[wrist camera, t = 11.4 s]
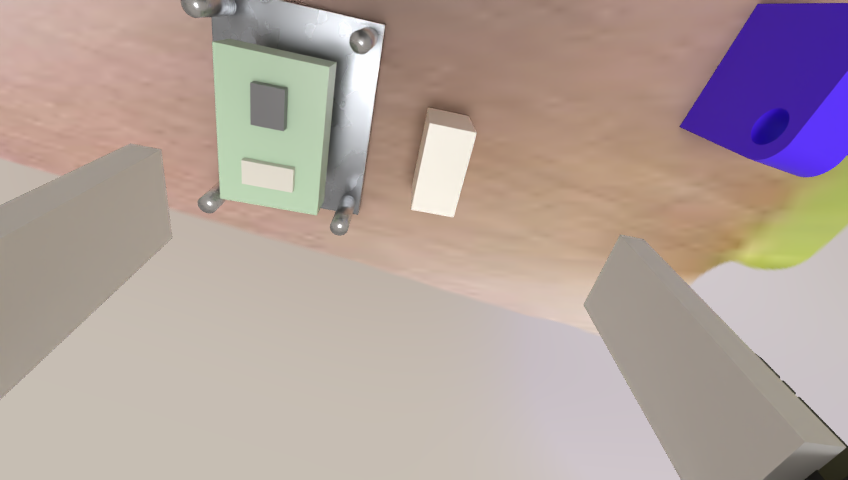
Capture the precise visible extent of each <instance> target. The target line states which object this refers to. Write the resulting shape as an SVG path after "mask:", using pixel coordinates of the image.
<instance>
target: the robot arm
mask: <svg viewBox="0 0 848 480" xmlns="http://www.w3.org/2000/svg"><path fill="white" fill-rule="evenodd" d="M171 239H172V232H171V224H170V216H169V208H168V200H167V192H166V184H165V175H164V167H163V159H162V151H161V149H157V148H152V147H146V146H141V145H136V144H128V145H126V146H124V147H122V148H120V149H118V150H116V151H114V152H111V153H109V154H107V155H105V156H103V157H101V158H99V159H97V160H95V161H92V162H90V163H88V164H86V165H84V166H82V167H80V168H78V169H76V170H73V171H71V172H69V173H67V174H65V175H63V176H61V177H59V178H57V179H55V180H52V181H51V182H49V183H46V184H44V185H42V186H40V187H38V188H36V189H33V190H31V191H29V192H27V193H25V194H23V195H21V196H19V197H17V198H15V199H13V200H10V201H8V202H6V203H4V204H2V205H0V400H1V399H2V398H3V397H4V396H5V395H6V394H7V393H8V392H9V391H10V390H11V389H12V388H13V387H14V386H15V385H17V384H18V383H19V382H20V381H21V380H22V379H23V378H24V377H25V376H26V375H27V374H28V373H29V372H30V371H31V370H33V369H34V368H35V367H36V366H37V365H38V364H39V363H40V362H41V361H42V360H43V359H44V358H45V357H46V356H47V355H48V354H49V353H51V352H52V351H53V350H54V349H55V348H56V347H57V346H58V345H59V344H60V343H61V342H62V341H63V340H64V339H65V338H67V337H68V336H69V335H70V334H71V333H72V332H73V331H74V330H75V329H76V328H77V327H78V326H79V325H80V324H81V323H82V322H84V321H85V320H86V319H87V318H88V317H89V316H90V315H91V314H92V313H93V312H94V311H95V310H96V309H97V308H98V307H99V306H100V305H102V304H103V303H104V302H105V301H106V300H107V299H108V298H109V297H110V296H111V295H112V294H113V293H114V292H115V291H117V290H118V288H119V287H121V286H122V285H123V284H124V283H125V282H126V281H127V280H128V279H129V278H130V277H131V276H132V275H133V274H134V273H136V272H137V271H138V270H139V269H140V268H141V267H142V266H143V265H144V264H145V263H146V262H147V261H148V260H149V259H151V257H153V256H154V255H155V254H156V253H157V252H158V251H159V250H160V249H161V248H162V247H163V246H164V245H165V244H166V243H168V241H170V240H171ZM584 307H585V308H586V310H587V312H588V314H589V316H590V317H591V319H592V321H593V323H594V325H595V326H596V328H597V330H598V332H599V334H600V335H601V337H602V339H603V341H604V342H605V344H606V346H607V348H608V350H609V351H610V353H611V355H612V357H613V359H614V360H615V362H616V364H617V366H618V367H619V369H620V371H621V373H622V375H623V376H624V378H625V380H626V382H627V384H628V385H629V387H630V389H631V391H632V393H633V394H634V396H635V398H636V400H637V402H638V403H639V405H640V407H641V409H642V411H643V412H644V414H645V416H646V418H647V420H648V421H649V423H650V425H651V427H652V429H653V430H654V432H655V434H656V436H657V438H658V439H659V441H660V443H661V445H662V447H663V448H664V450H665V452H666V454H667V455H668V457H669V459H670V461H671V463H672V464H673V466H674V468H675V470H676V472H677V473H678V475H679V477H680V479H681V480H848V446H847V445H846V444H845V443H844V442H843V441H842V440H841V439H840V438H839V437H838V436H837V435H836V434H835V432H834V431H832V429H831V428H830V427H829V426H828V425H827V424H826V423H825V422H824V421H823V420H822V419H821V418H820V417H819V416H818V415H817V414H816V413H815V412H814V411H813V410H812V409H811V408H810V407H809V406H808V405H807V404H806V403H805V402H804V401H803V400H802V399H801V398H800V397H797V396H796V395H795V394H796V393H795V392H794V391H793V390H792V389H791V388H790V387H789V386H788V385H787V384H786V383H785V382H784V381H781V380H780V376H779V375H778V374H777V373H775V371H774V370H773V369H771V367H770V366H769V365H768V364H767V363H766V362H765V361H764V360H763V359H762V358H761V357H759V356H758V355H757V354H755V353H754V352H753V351H752V350H751V349H750V348H749V347H748V346H747V345H746V344H745V343H744V342H743V341H742V340H741V339H740V338H739V337H738V336H737V335H736V334H735V332H734V331H733V330H732V329H730V328H729V326H728V325H727V324H726V323H725V322H724V321H723V320H722V319H721V318H720V317H719V316H718V315H717V314H716V313H715V312H714V311H713V310H712V309H711V308H710V307H709V306H708V305H707V304H706V303H705V302H704V301H703V300H702V299H701V298H700V297H699V296H698V295H697V294H696V292H695V291H694V290H693V289H691V287H690V286H689V285H688V284H687V283H686V282H685V281H684V280H683V279H682V278H681V277H680V276H679V275H678V274H677V273H676V272H675V271H674V270H673V269H672V268H671V267H670V266H669V265H668V264H667V263H666V262H665V261H664V260H663V259H662V258H661V257H660V256H659V254H658V253H657V252H656V251H655V250H654V249H653V248H652V247H651V246H650V245H649V244H648V243H647V242H646V241H645V240H644V239H641V238H635V237H630V236H625V235H620V236H619V238H618V240H617V242H616V244H615V245H614V247H613V249H612V251H611V253H610V255H609V257H608V259H607V261H606V263H605V265H604V266H603V268H602V270H601V272H600V274H599V276H598V278H597V280H596V282H595V284H594V286H593V287H592V289H591V291H590V293H589V295H588V297H587V299H586V301H585V303H584Z"/></svg>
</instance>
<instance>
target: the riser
mask: <svg viewBox="0 0 848 480" xmlns="http://www.w3.org/2000/svg"><path fill="white" fill-rule="evenodd" d="M476 134H477V132H476V130H475V128H474V126H473V124H472V122H471V119H470V117H469V116H467V115H462V114H458V113H453V112H448V111H443V110H439V109H434V108H429V107H428V110H427V115H426V119H425V124H424V129H423V134H422V139H421V143H420V148H419V153H418V158H417V163H416V168H415V172H414V177H413V182H412V200H411V210H416V211H421V212H427V213H432V214H438V215H443V216H449V217H454V214H455V210H456V207H457V203H458V199H459V196H460V192H461V189H462V185H463V181H464V178H465V174H466V170H467V167H468V163H469V160H470V156H471V152H472V149H473V145H474V141H475V138H476Z"/></svg>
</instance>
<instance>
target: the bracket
mask: <svg viewBox="0 0 848 480" xmlns="http://www.w3.org/2000/svg"><path fill="white" fill-rule="evenodd" d="M680 127H681V128H683V129H685V130H687V131H690V132H692V133H694V134H696V135H698V136H701V137H703V138H705V139H707V140H709V141H711V142H714V143H716V144H718V145H720V146H722V147H725V148H727V149H729V150H731V151H733V152H735V153H738V154H740V155H742V156H744V157H746V158H749V159H751V160H754V161H757V162H760V163H763V164H765V165H768V166H771V167H774V168H777V169H779V170H782V171H785V172H788V173H791V174H793V175H796V176H800V177H813V176H817V175H820V174H823V173H825V172H827V171H829V170H831V169H832V168H834V167H835V166H836V165H838V164H839V163H840V162H841V161H842V160H843V159H844V158H845V157H846V156H847V155H848V3H802V4H757V6H756V8H755V9H754V11H753V12H752V14H751V15H750V17H749V19H748V20H747V22H746V23H745V25H744V26H743V28H742V30H741V31H740V33H739V34H738V36H737V37H736V39H735V41H734V42H733V44H732V45H731V47H730V48H729V50H728V52H727V53H726V55H725V56H724V58H723V59H722V61H721V63H720V64H719V66H718V67H717V69H716V70H715V72H714V74H713V75H712V77H711V78H710V80H709V81H708V83H707V85H706V86H705V88H704V89H703V91H702V92H701V94H700V96H699V97H698V99H697V100H696V102H695V103H694V105H693V107H692V108H691V110H690V111H689V113H688V114H687V116H686V118H685V119H684V121H683V122H682V124H681V125H680Z"/></svg>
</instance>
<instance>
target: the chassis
mask: <svg viewBox="0 0 848 480" xmlns="http://www.w3.org/2000/svg"><path fill="white" fill-rule="evenodd" d="M181 5H182V7H183V9H184V11H185V12H186V13H187V14H188V15H190V16H191V17H195V18H200V17H212V36H213V41H219V40H225V39H234V40H238V41H243V42H247V43H252V44H257V45H261V46H266V47H270V48H275V49H279V50H284V51H288V52H293V53H297V54H302V55H306V56H311V57H316V58H320V59H325V60H329V61H334V62H337V64H336V75H335V86H334V97H333V108H332V119H331V130H330V141H329V152H328V163H327V174H326V185H325V196H324V202H323V204H322V206H321V208H323V209H328V210H334V211H336V212H335V215H334V217H333V220H332V222H331V225H330V229H331V231H332V232H333V233H334V234H335V235H344V234H345V233H346V232H347V230H348V227H349V224H350V221H351V217H352V214H357V215H358V213H359V210H360V203H361V196H362V189H363V182H364V175H365V168H366V160H367V153H368V146H369V139H370V132H371V125H372V118H373V111H374V104H375V97H376V90H377V83H378V76H379V69H380V62H381V55H382V48H383V40H384V33H385V26H386V24H382V23H377V22H373V21H369V20H364V19H360V18H356V17H352V16H347V15H343V14H339V13H335V12H330V11H326V10H322V9H318V8H313V7H309V6H305V5H301V4H296V3H292V2H288V1H283V0H181ZM226 200H227V199H221V198H220V183H219V182H218V183H217V184H216V185H215V186H213V187H212V188H211V189H210V190H209V191H208V192H207V193H205V194H204V195H203V196H202V197H201V198H200V199H199V200H198V206H199V208H200V209H201V210H202V211H203V212H206V213H213V212H215V211H216V210H217V209H218V208H219V207H220V206H221V205H222V204H223V203H224V202H225V201H226Z"/></svg>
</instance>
